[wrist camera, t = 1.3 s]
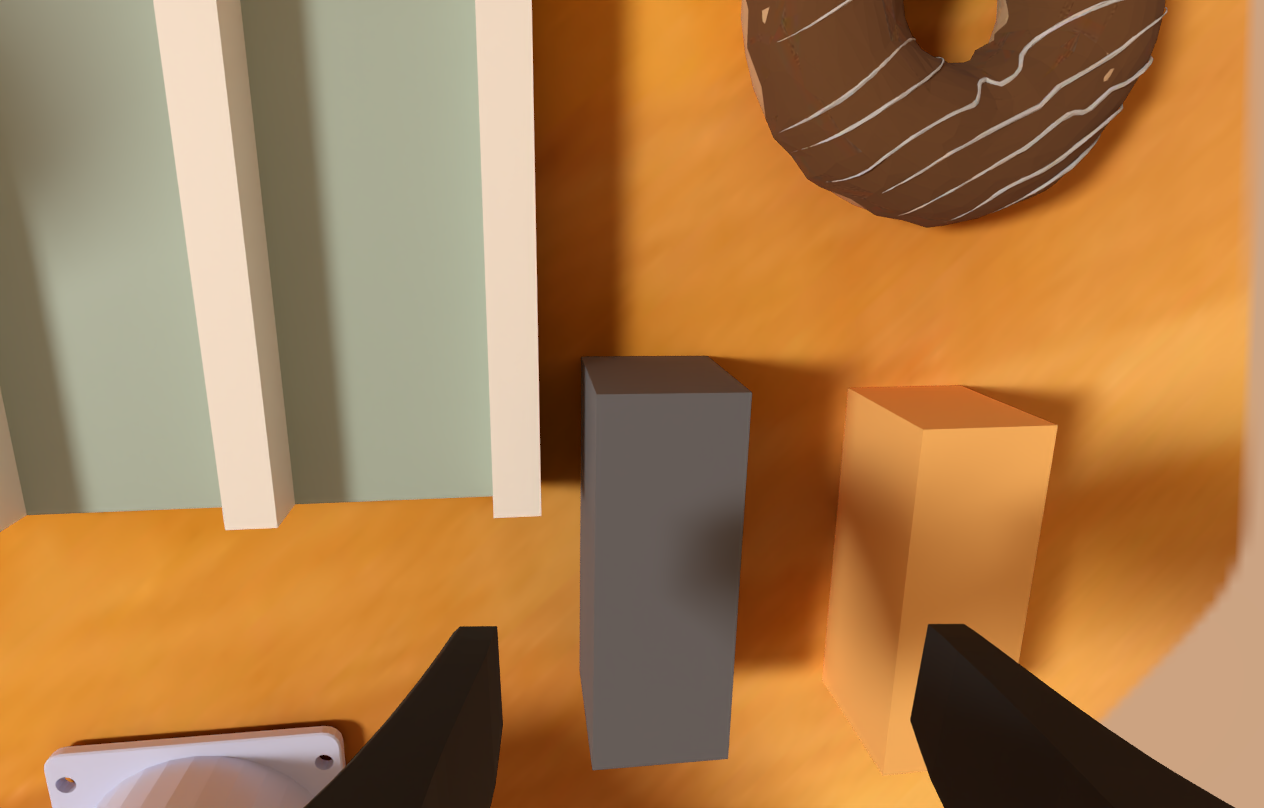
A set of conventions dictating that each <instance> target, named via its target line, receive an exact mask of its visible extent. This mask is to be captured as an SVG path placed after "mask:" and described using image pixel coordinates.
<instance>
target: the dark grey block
mask: <svg viewBox="0 0 1264 808" xmlns="http://www.w3.org/2000/svg"><path fill="white" fill-rule="evenodd" d="M751 401H752V392H751V391H750V390H748V389H747V388H746V387H745V386H744V385H742V384H741V383H740V382H739V381H737V380H736V379H735V378H734V377H732V376H731V375H730V374H729V373H728V372H726V371H725V370H724V369H723V368H721V367H720V366H719V365H718V364H717V363H715V362H714V361H713V360H712V359H710V358H709V357H708V356H602V357H581V532H580V677H581V684H582V692H583V700H584V708H585V716H586V724H587V732H588V740H589V747H590V755H591V763H592V770H602V769H614V768H626V767H638V766H649V765H661V764H673V763H684V762H696V761H708V760H720V759H728V750H729V735H730V719H731V704H732V689H733V674H734V659H735V644H736V628H737V613H738V598H739V583H740V568H741V553H742V537H743V522H744V507H745V492H746V477H747V461H748V446H749V431H750V416H751Z"/></svg>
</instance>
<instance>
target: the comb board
mask: <svg viewBox="0 0 1264 808" xmlns="http://www.w3.org/2000/svg"><path fill="white" fill-rule="evenodd" d="M483 496H493V510H494V518H506V517H528V516H541V473H540V419H539V366H538V312H537V258H536V204H535V150H534V97H533V43H532V0H0V532H1V531H2V530H4V529H6V528H7V527H9V526H10V525H12V524H13V523H15V522H17V521H18V520H20V519H21V518H23V517H25V516H26V515H40V514H64V513H89V512H114V511H138V510H163V509H188V508H212V507H222V510H223V518H224V525H225V530H237V529H260V528H278V526H279V525H280V524H281V522H282V521H283V520H284V518H285V517H286V516H287V514H288V513H289V512H290V510H291V509H292V508H293V506H294V505H295V504H311V503H335V502H360V501H385V500H409V499H434V498H459V497H483Z"/></svg>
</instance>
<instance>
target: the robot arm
mask: <svg viewBox="0 0 1264 808" xmlns="http://www.w3.org/2000/svg"><path fill="white" fill-rule="evenodd" d="M910 722H911V725H912V728H913V731H914V734H915V737H916V740H917V743H918V746H919V749H920V751H921V754H922V757H923V760H924V762H925V765H926V768H927V771H928V773H929V776H930V779H931V781H932V783H933V785H934V787H935V790H936V792H937V794H938V796H939V798H940V800H941V802H942V804H943V806H944V808H1235V807H1233V806H1231V805H1229V804H1228V803H1226V802H1224V801H1222V800H1221V799H1219V798H1217V797H1215V796H1214V795H1212V794H1210V793H1209V792H1207V791H1205V790H1204V789H1202V788H1200V787H1198V786H1197V785H1195V784H1193V783H1192V782H1190V781H1188V780H1187V779H1185V778H1183V777H1182V776H1180V775H1178V774H1177V773H1174V772H1173V771H1172V770H1170V769H1168V768H1167V767H1165V766H1164V765H1162V764H1160V763H1159V762H1157V761H1156V760H1154V759H1152V758H1151V757H1149V756H1148V755H1146V754H1145V753H1143V752H1142V751H1140V750H1139V749H1137V748H1136V747H1134V746H1133V745H1131V744H1130V743H1128V742H1127V741H1125V740H1124V739H1122V738H1121V737H1119V736H1118V735H1116V734H1115V733H1113V732H1112V731H1110V730H1109V729H1107V728H1106V727H1105V726H1103V725H1102V724H1100V723H1099V722H1097V721H1096V720H1095V719H1093V718H1092V717H1090V716H1089V715H1087V714H1086V713H1085V712H1083V711H1082V710H1080V709H1079V708H1078V707H1076V706H1075V705H1074V704H1072V703H1071V702H1069V701H1068V700H1067V699H1065V698H1064V697H1063V696H1061V695H1060V694H1059V693H1057V692H1056V691H1054V690H1053V689H1052V688H1050V687H1049V686H1048V685H1046V684H1045V683H1044V682H1042V681H1041V680H1040V679H1038V678H1037V677H1036V676H1034V675H1033V674H1032V673H1030V672H1029V671H1028V670H1026V669H1025V668H1024V667H1022V666H1021V665H1020V664H1018V663H1017V662H1016V661H1014V660H1013V659H1012V658H1011V657H1009V656H1008V655H1007V654H1005V653H1004V652H1003V651H1001V650H1000V649H999V648H997V647H996V646H995V645H993V644H992V643H991V642H989V641H988V640H986V639H985V638H984V637H982V636H981V635H980V634H978V633H977V632H975V631H974V630H972V629H971V628H969V627H968V626H967V625H965V624H928V627H927V632H926V638H925V643H924V648H923V654H922V659H921V664H920V670H919V675H918V680H917V686H916V691H915V696H914V701H913V707H912V712H911V717H910ZM502 727H503V719H502V702H501V684H500V667H499V650H498V633H497V626H477V627H459V628H458V629H457V630H456V631H455V632H454V633H453V634H452V636H451V637H450V638H449V640H448V641H447V643H446V644H445V646H444V647H443V649H442V650H441V651H440V653H439V654H438V656H437V657H436V658H435V660H434V661H433V663H432V664H431V665H430V667H429V668H428V669H427V671H426V672H425V673H424V675H423V676H422V677H421V679H420V680H419V681H418V683H417V684H416V685H415V686H414V688H413V689H412V690H411V691H410V693H409V694H408V695H407V696H406V698H405V699H404V700H403V701H402V703H401V704H400V705H399V706H398V708H397V709H396V710H395V711H394V712H393V714H392V715H391V716H390V717H389V719H388V720H387V721H386V722H385V723H384V724H383V726H382V727H381V728H380V729H379V730H378V731H377V732H376V733H375V734H374V736H373V737H372V738H371V739H370V740H369V741H368V742H367V743H366V744H365V746H364V747H363V748H362V749H361V750H360V751H359V752H358V753H357V754H356V756H355V757H354V758H353V759H352V760H351V761H350V762H349V763H348V764H347V765H346V763H345V753H344V743H343V737H342V734H341V733H340V732H339V731H338V730H337V729H336V728H333V727H331V726H316V727H304V728H291V729H279V730H267V731H254V732H242V733H230V734H217V735H205V736H193V737H180V738H168V739H156V740H143V741H131V742H119V743H107V744H94V745H82V746H70V747H63V748H59V749H58V750H56V751H55V752H54V753H53V754H52V755H51V756H50V757H49V759H48V760H47V761H46V763H45V765H44V772H45V777H46V781H47V786H48V790H49V795H50V799H51V804H52V808H490V806H491V802H492V797H493V793H494V789H495V783H496V776H497V768H498V760H499V752H500V744H501V735H502ZM321 755H328V756H330V757H331V758H332V760H329V761H328V760H323V759H321V758H320V757H319V756H321ZM65 777H67V778H71V779H72V780H74V781H75V783H73V782H69V781H67V780H66V779H65Z"/></svg>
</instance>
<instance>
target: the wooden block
mask: <svg viewBox="0 0 1264 808" xmlns="http://www.w3.org/2000/svg"><path fill="white" fill-rule="evenodd" d="M1057 428H1058V425H1056V424H1054V423H1051V422H1049V421H1046V420H1044V419H1041V418H1039V417H1036V416H1034V415H1032V414H1029V413H1027V412H1024V411H1022V410H1019V409H1017V408H1014V407H1012V406H1010V405H1007V404H1005V403H1002V402H1000V401H997V400H995V399H993V398H990V397H988V396H985V395H983V394H980V393H978V392H975V391H973V390H971V389H968V388H966V387H963V386H961V385H949V386H907V387H865V388H848V395H847V406H846V417H845V428H844V440H843V451H842V462H841V473H840V485H839V496H838V507H837V519H836V530H835V541H834V552H833V564H832V575H831V586H830V597H829V609H828V620H827V631H826V642H825V654H824V665H823V676H822V681H823V683H824V684H825V686H826V687H827V689H828V690H829V692H830V694H831V695H832V697H833V698H834V700H835V701H836V703H837V705H838V706H839V708H840V709H841V711H842V712H843V714H844V716H845V717H846V719H847V720H848V722H849V723H850V725H851V726H852V728H853V730H854V731H855V733H856V734H857V736H858V737H859V739H860V741H861V742H862V744H863V745H864V747H865V748H866V750H867V752H868V753H869V755H870V756H871V758H872V759H873V761H874V763H875V764H876V766H877V767H878V769H879V770H880V772H881V774H882V775H883V776H884V775H894V774H903V773H913V772H923V771H927V768H926V765H925V762H924V760H923V757H922V754H921V751H920V749H919V746H918V743H917V740H916V737H915V734H914V731H913V728H912V725H911V722H910V717H911V712H912V707H913V701H914V696H915V691H916V686H917V680H918V675H919V670H920V664H921V659H922V654H923V648H924V643H925V638H926V632H927V627H928V624H965V625H967V626H968V627H969V628H971V629H972V630H974V631H975V632H977V633H978V634H980V635H981V636H982V637H984V638H985V639H986V640H988V641H989V642H991V643H992V644H993V645H995V646H996V647H997V648H999V649H1000V650H1001V651H1003V652H1004V653H1005V654H1007V655H1008V656H1009V657H1011V658H1012V659H1013V660H1014V661H1016V662H1017V663H1018V664H1019V658H1020V652H1021V646H1022V640H1023V634H1024V628H1025V622H1026V616H1027V610H1028V604H1029V598H1030V592H1031V586H1032V579H1033V573H1034V567H1035V561H1036V555H1037V549H1038V543H1039V537H1040V531H1041V525H1042V519H1043V513H1044V507H1045V501H1046V494H1047V488H1048V482H1049V476H1050V470H1051V464H1052V458H1053V452H1054V446H1055V440H1056V434H1057Z"/></svg>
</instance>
